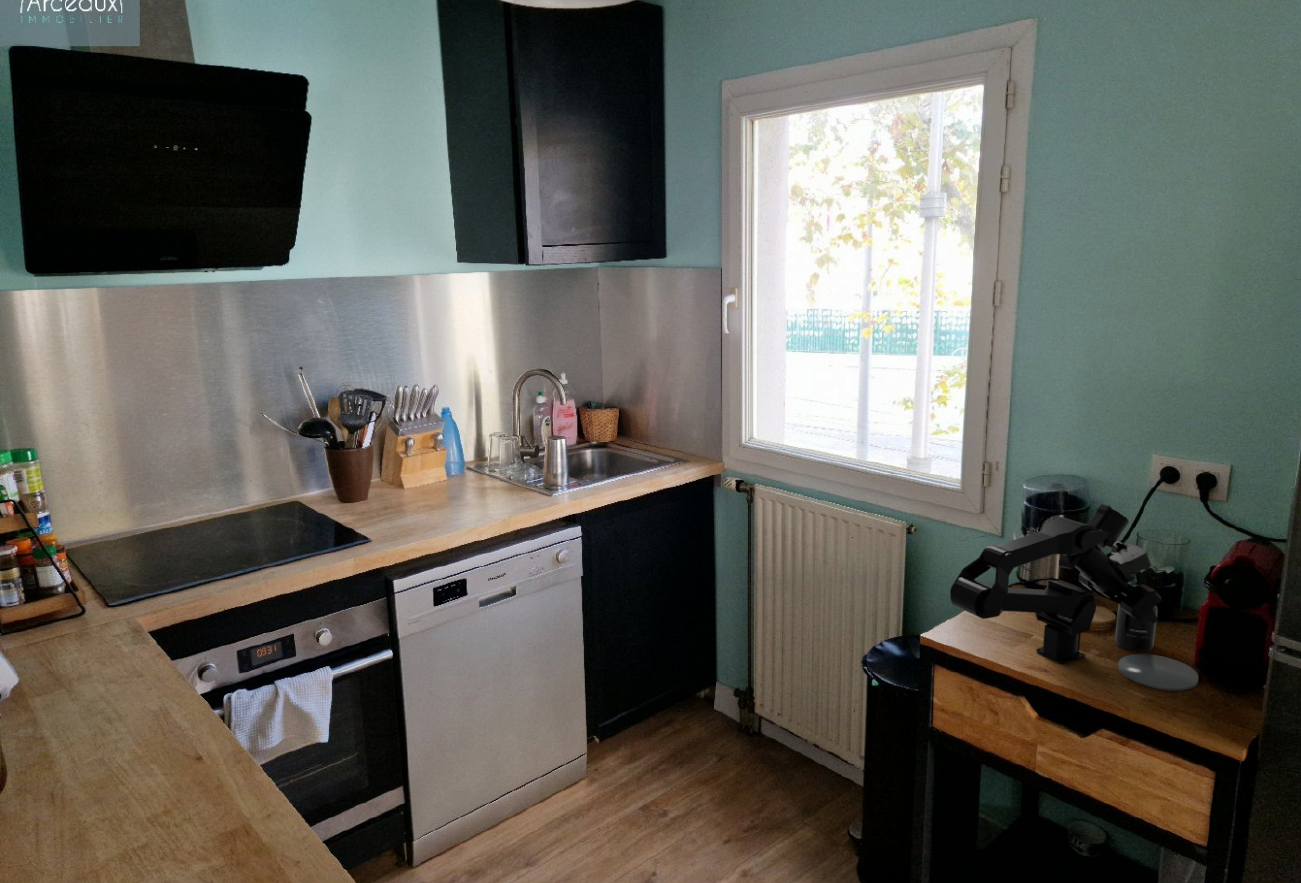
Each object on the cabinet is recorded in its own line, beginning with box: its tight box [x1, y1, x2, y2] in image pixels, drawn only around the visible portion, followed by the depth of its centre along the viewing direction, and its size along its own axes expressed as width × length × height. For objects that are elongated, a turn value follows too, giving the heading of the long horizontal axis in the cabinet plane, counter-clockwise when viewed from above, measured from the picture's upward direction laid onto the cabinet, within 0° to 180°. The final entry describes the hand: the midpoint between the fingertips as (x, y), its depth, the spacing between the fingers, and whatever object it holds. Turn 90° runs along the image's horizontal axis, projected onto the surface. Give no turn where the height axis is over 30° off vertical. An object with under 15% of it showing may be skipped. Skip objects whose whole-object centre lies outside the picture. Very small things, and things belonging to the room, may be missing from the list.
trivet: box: [1117, 653, 1199, 692], centre depth 166 cm, size 13×13×1 cm
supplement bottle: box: [1114, 584, 1158, 653], centre depth 177 cm, size 7×7×12 cm
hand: (1143, 613), depth 177 cm, fingers open, 7 cm apart
